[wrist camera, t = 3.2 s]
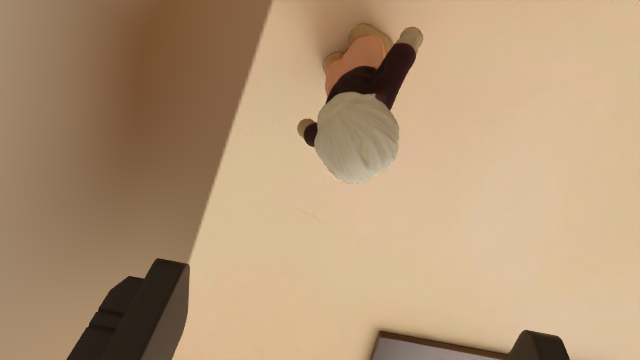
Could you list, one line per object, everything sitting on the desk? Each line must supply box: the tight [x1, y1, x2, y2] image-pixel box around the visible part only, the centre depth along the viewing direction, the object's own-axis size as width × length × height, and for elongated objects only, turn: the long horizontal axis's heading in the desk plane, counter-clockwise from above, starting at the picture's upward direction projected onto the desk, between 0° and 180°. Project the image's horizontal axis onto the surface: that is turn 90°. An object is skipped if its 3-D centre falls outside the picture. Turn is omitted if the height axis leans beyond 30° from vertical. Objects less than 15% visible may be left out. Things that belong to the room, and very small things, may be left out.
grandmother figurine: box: [297, 24, 423, 184], centre depth 24 cm, size 8×4×13 cm, turn 147°
